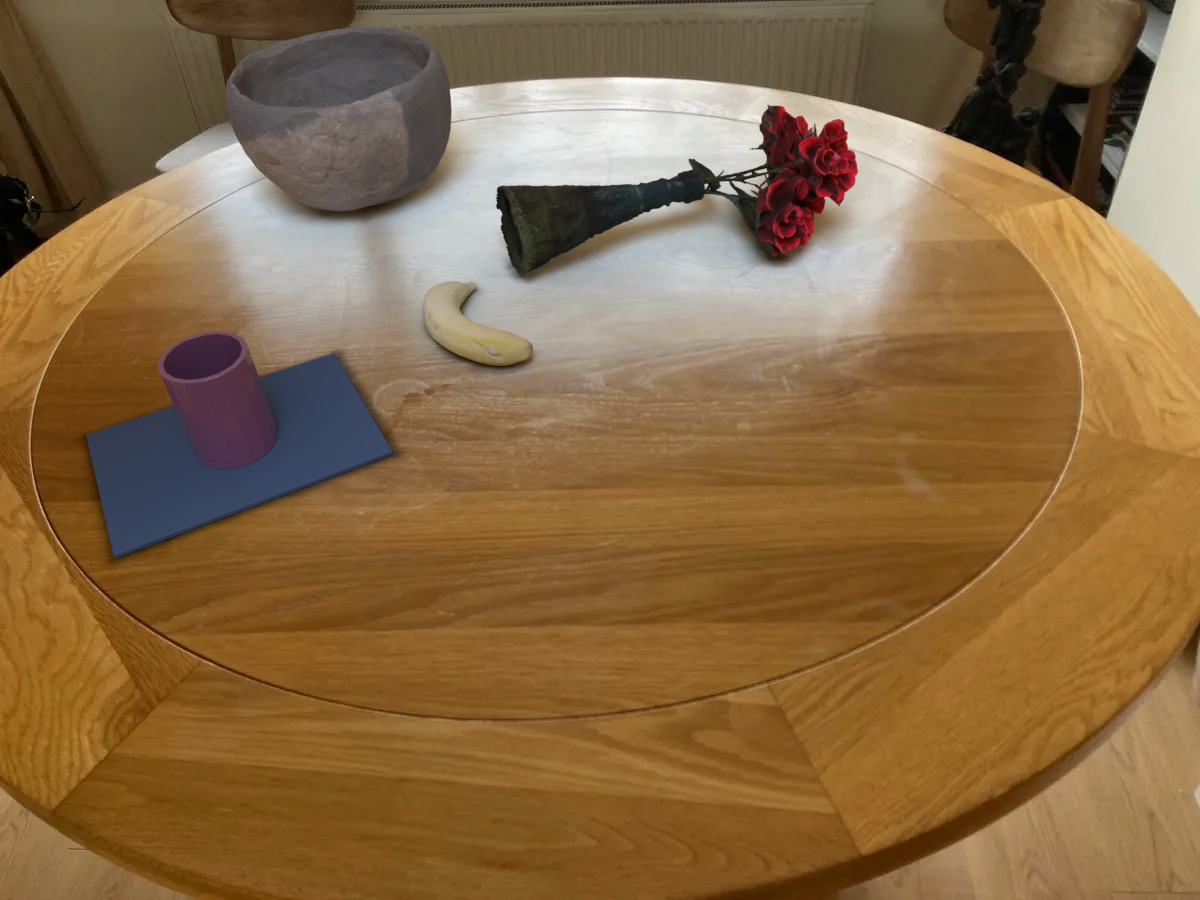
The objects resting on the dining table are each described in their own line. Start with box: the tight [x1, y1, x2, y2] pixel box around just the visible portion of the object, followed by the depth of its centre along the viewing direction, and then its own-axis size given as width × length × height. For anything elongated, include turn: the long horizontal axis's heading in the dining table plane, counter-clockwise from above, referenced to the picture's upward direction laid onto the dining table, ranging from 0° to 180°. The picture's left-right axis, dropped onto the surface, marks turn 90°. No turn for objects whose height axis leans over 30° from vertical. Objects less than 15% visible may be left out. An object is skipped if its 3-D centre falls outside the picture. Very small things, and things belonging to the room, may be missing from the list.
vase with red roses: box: [495, 104, 859, 276], centre depth 97 cm, size 16×18×35 cm
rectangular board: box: [85, 352, 394, 559], centre depth 81 cm, size 22×16×1 cm
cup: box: [156, 330, 278, 469], centre depth 77 cm, size 7×7×9 cm
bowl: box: [224, 26, 453, 212], centre depth 109 cm, size 24×24×15 cm
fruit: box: [422, 280, 534, 367], centre depth 90 cm, size 7×15×3 cm, turn 28°
